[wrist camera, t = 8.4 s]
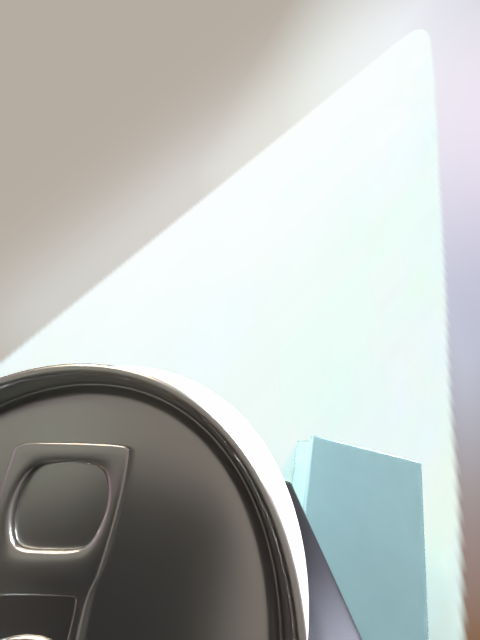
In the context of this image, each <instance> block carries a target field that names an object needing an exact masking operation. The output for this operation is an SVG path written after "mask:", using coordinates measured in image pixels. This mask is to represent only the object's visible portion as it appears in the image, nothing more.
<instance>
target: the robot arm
mask: <svg viewBox="0 0 480 640" xmlns="http://www.w3.org/2000/svg"><path fill="white" fill-rule="evenodd" d="M284 482H285V484H286V486H287V489H288V492H289V494H290V497H291V500H292V503H293V506H294V509H295V513H296V516H297V520H298V524H299V528H300V532H301V537H302V542H303V547H304V554H305V560H306V569H307V580H308V597H309V625H308V640H362V638H361V636H360V633H359V631H358V629H357V627H356V625H355V622H354V620H353V618H352V616H351V614H350V611H349V609H348V607H347V605H346V603H345V600H344V598H343V596H342V594H341V592H340V589H339V587H338V585H337V583H336V581H335V578H334V576H333V574H332V572H331V570H330V567H329V565H328V563H327V561H326V559H325V556H324V554H323V552H322V550H321V548H320V545H319V543H318V541H317V539H316V537H315V534H314V532H313V530H312V528H311V526H310V523H309V521H308V519H307V517H306V515H305V512H304V510H303V508H302V506H301V504H300V501H299V499H298V497H297V495H296V493H295V490H294V488H293V486H292V484H291V483H290V482H287V481H284Z"/></svg>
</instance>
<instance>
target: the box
mask: <svg viewBox="0 0 480 640" xmlns="http://www.w3.org/2000/svg"><path fill="white" fill-rule="evenodd" d="M292 486H293V488H294V490H295V493H296V495H297V497H298V499H299V501H300V504H301V506H302V508H303V510H304V512H305V515H306V517H307V519H308V521H309V523H310V526H311V528H312V530H313V532H314V534H315V537H316V539H317V541H318V543H319V545H320V548H321V550H322V552H323V554H324V556H325V559H326V561H327V563H328V565H329V567H330V570H331V572H332V574H333V576H334V578H335V581H336V583H337V585H338V587H339V589H340V592H341V594H342V596H343V598H344V600H345V603H346V605H347V607H348V609H349V611H350V614H351V616H352V618H353V620H354V622H355V625H356V627H357V629H358V631H359V633H360V636H361V638H362V640H429V637H428V613H427V589H426V565H425V541H424V517H423V493H422V469H421V462H418V461H414V460H410V459H406V458H402V457H398V456H394V455H390V454H386V453H382V452H378V451H374V450H370V449H366V448H362V447H358V446H354V445H350V444H346V443H342V442H338V441H334V440H330V439H326V438H322V437H318V436H311V438H310V441H298V442H297V449H296V456H295V464H294V471H293V479H292Z"/></svg>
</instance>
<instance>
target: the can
mask: <svg viewBox="0 0 480 640" xmlns="http://www.w3.org/2000/svg"><path fill="white" fill-rule="evenodd" d="M308 625H309V597H308V580H307V569H306V560H305V554H304V547H303V542H302V537H301V532H300V528H299V524H298V520H297V516H296V513H295V509H294V506H293V503H292V500H291V497H290V494H289V492H288V489H287V486H286V484H285V482H284V479H283V477H282V475H281V473H280V471H279V468H278V466H277V465H276V463H275V461H274V459H273V457H272V455H271V454H270V452H269V450H268V449H267V447H266V445H265V444H264V442H263V441H262V439H261V438H260V437H259V435H258V434H257V433H256V431H255V430H254V429H253V427H252V426H251V425H250V424H249V423H248V422H247V420H246V419H245V418H244V417H243V416H242V415H241V414H240V413H239V412H238V411H237V410H236V409H235V408H233V407H232V406H231V405H230V404H229V403H228V402H226V401H225V400H224V399H222V398H221V397H220V396H218V395H217V394H215V393H214V392H212V391H211V390H209V389H208V388H206V387H204V386H202V385H201V384H199V383H197V382H195V381H193V380H190V379H188V378H186V377H183V376H180V375H178V374H174V373H171V372H168V371H164V370H159V369H154V368H148V367H139V366H110V365H101V364H63V365H53V366H46V367H40V368H35V369H30V370H26V371H22V372H18V373H14V374H11V375H8V376H4V377H1V378H0V640H308Z"/></svg>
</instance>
